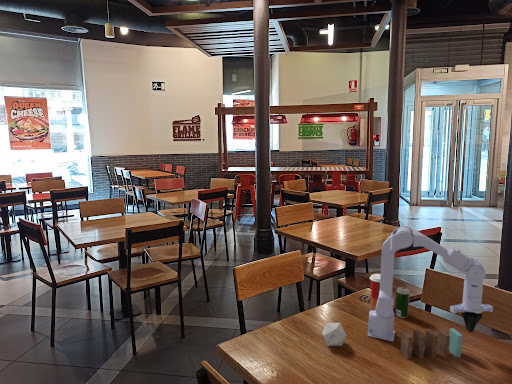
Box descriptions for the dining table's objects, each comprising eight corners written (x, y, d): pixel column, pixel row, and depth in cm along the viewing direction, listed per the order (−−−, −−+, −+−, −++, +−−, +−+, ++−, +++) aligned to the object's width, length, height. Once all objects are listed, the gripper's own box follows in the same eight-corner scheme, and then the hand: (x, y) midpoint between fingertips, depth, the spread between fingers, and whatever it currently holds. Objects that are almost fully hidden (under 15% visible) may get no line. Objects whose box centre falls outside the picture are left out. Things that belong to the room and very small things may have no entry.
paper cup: (386, 302, 170) (387, 274, 168) (386, 309, 163) (387, 280, 161) (368, 300, 173) (370, 272, 171) (368, 307, 166) (369, 278, 164)
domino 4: (444, 357, 127) (445, 336, 126) (436, 349, 132) (437, 328, 131) (448, 357, 127) (450, 336, 126) (440, 349, 132) (441, 328, 131)
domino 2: (419, 358, 127) (420, 337, 126) (412, 350, 132) (413, 329, 131) (423, 358, 127) (425, 337, 126) (416, 350, 132) (417, 329, 131)
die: (317, 342, 138) (320, 331, 131) (328, 324, 143) (331, 313, 136) (336, 355, 135) (340, 345, 128) (346, 336, 140) (351, 326, 133)
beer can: (404, 319, 154) (406, 293, 152) (392, 315, 158) (394, 289, 156) (410, 315, 158) (411, 289, 156) (398, 311, 162) (399, 286, 160)
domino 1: (406, 358, 127) (408, 337, 125) (400, 350, 132) (401, 330, 130) (411, 358, 127) (412, 337, 126) (404, 350, 132) (405, 330, 130)
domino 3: (431, 357, 127) (433, 336, 126) (424, 349, 132) (425, 329, 131) (436, 357, 127) (437, 336, 126) (428, 349, 132) (429, 329, 131)
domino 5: (456, 356, 128) (458, 335, 127) (448, 348, 133) (449, 328, 131) (460, 356, 128) (462, 335, 127) (452, 348, 133) (453, 328, 132)
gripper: (459, 300, 123) (456, 337, 125) (500, 298, 124) (497, 335, 126) (447, 291, 130) (445, 327, 132) (486, 290, 131) (483, 325, 133)
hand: (469, 330), depth 129 cm, fingers closed
